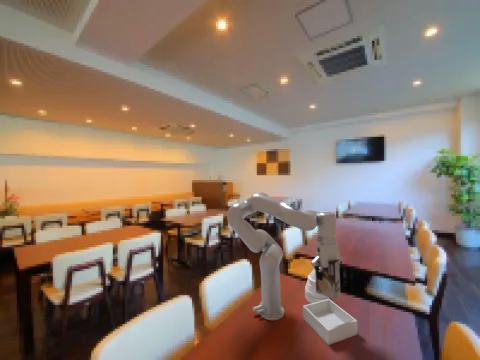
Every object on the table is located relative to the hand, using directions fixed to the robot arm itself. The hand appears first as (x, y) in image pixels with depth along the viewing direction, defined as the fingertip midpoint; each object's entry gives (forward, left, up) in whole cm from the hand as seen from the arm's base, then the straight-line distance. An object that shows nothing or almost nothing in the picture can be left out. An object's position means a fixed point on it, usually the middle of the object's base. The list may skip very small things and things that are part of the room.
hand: (327, 277), depth 91 cm
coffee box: (0, 0, -7) cm, 7 cm away
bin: (0, 0, -22) cm, 22 cm away
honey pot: (+9, +19, -23) cm, 31 cm away
